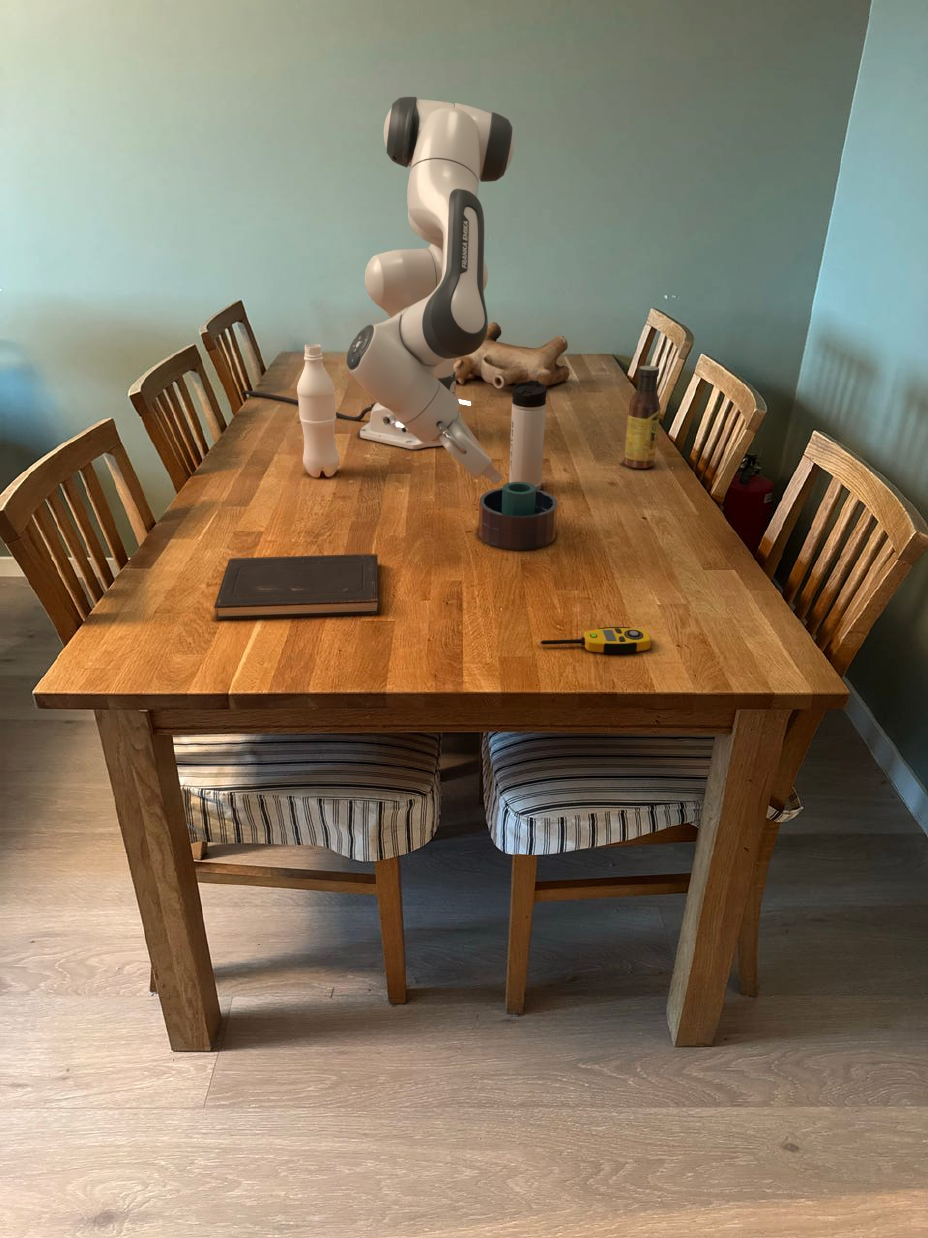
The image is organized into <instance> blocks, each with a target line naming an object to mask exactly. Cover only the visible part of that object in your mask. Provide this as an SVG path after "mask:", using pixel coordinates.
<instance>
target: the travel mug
mask: <svg viewBox="0 0 928 1238" xmlns="http://www.w3.org/2000/svg"><path fill="white" fill-rule="evenodd" d="M547 390H548V389H547V386H545V385H543V384H541V383H539V381H535V380H530V381H529V382H522V383H519V384H515V385H513V387H512V400H511V419H510V420H511V421H510V426H511V427H510V444H509V445H510V447H509V448H510V449H509V473H508V483H511V482H526V483H530V484H532V485H534V486H535V488H536V489H537V490H541V489H542V483H543V482H542V479H543V464H544V447H545V446H544V445H545V444H544V443H545V428H546V411H547V407H546V406H547Z"/></svg>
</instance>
